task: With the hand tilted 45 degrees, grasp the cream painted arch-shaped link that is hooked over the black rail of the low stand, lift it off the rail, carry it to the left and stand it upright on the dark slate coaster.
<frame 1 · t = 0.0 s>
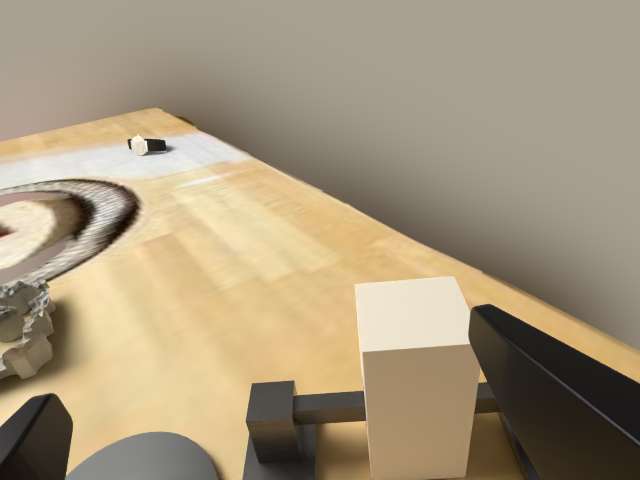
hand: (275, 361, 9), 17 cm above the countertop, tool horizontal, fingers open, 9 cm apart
egg carton: (11, 349, 36), on the countertop
watch: (149, 153, 76), on the countertop
black stand: (410, 440, 25), on the countertop
cream link: (410, 440, 25), on the countertop
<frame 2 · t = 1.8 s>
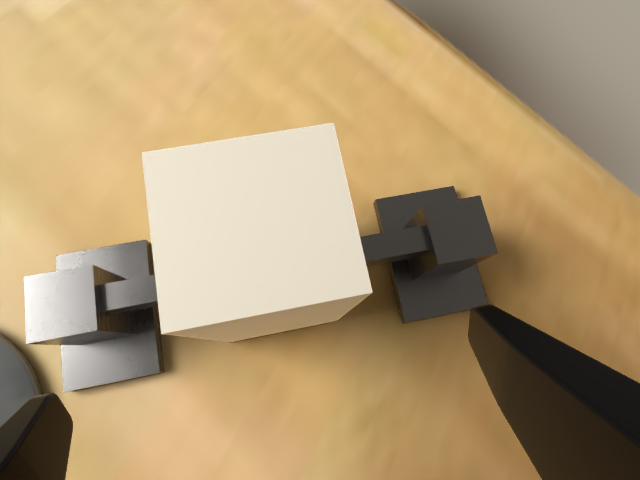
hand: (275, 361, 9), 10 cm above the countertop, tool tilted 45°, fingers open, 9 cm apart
black stand: (275, 282, 20), on the countertop
cream link: (275, 282, 20), on the countertop
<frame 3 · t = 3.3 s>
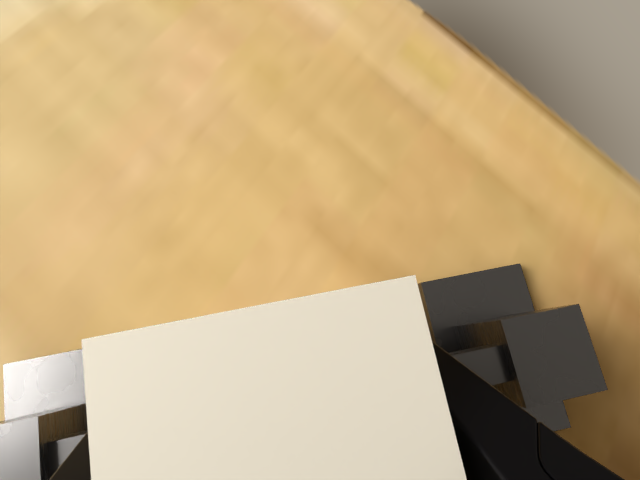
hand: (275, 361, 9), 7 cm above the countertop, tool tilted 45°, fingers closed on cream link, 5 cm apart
black stand: (291, 394, 16), on the countertop
cream link: (291, 394, 16), on the countertop, touching gripper
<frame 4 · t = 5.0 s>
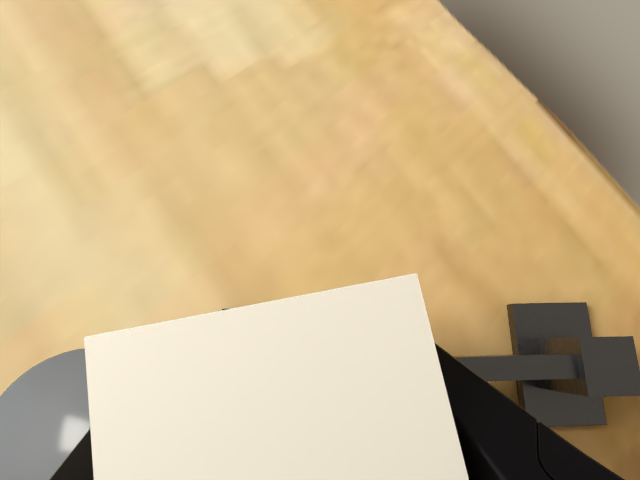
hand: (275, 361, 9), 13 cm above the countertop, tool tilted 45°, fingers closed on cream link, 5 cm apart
slate coaster: (89, 456, 20), on the countertop
black stand: (409, 365, 22), on the countertop
cream link: (292, 393, 16), point 6 cm above the countertop, touching gripper
when the fingers open (8 cm above the countertop, at t = 7.0 s): cream link stays where it is, resting on slate coaster.
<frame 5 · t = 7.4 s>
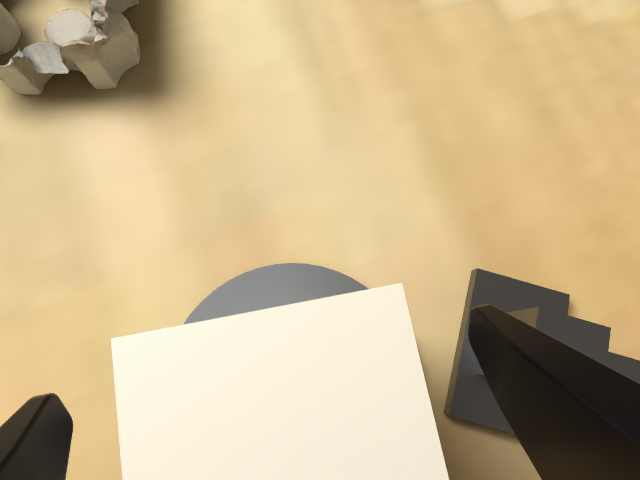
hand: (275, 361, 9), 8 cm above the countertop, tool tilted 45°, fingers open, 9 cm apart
egg carton: (70, 7, 21), on the countertop
slate coaster: (292, 389, 17), on the countertop
cream link: (292, 390, 17), point 1 cm above the countertop, touching slate coaster
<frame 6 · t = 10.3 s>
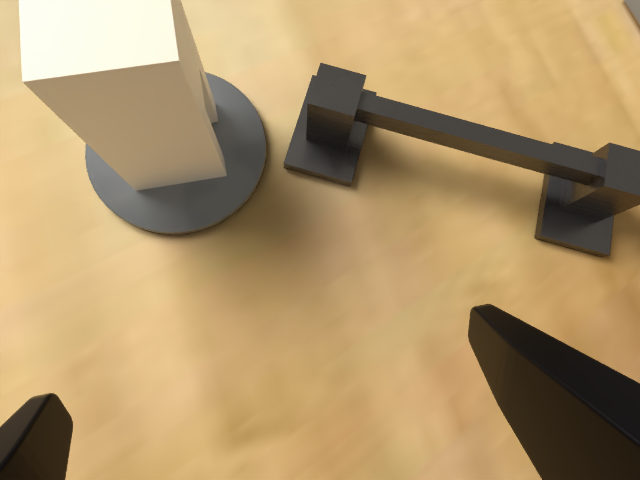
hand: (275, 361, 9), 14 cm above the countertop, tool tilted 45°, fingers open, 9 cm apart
slate coaster: (179, 150, 25), on the countertop
black stand: (452, 165, 26), on the countertop
cream link: (176, 145, 24), point 1 cm above the countertop, touching slate coaster
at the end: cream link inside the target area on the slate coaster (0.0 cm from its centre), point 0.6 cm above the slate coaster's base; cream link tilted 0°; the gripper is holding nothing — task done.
